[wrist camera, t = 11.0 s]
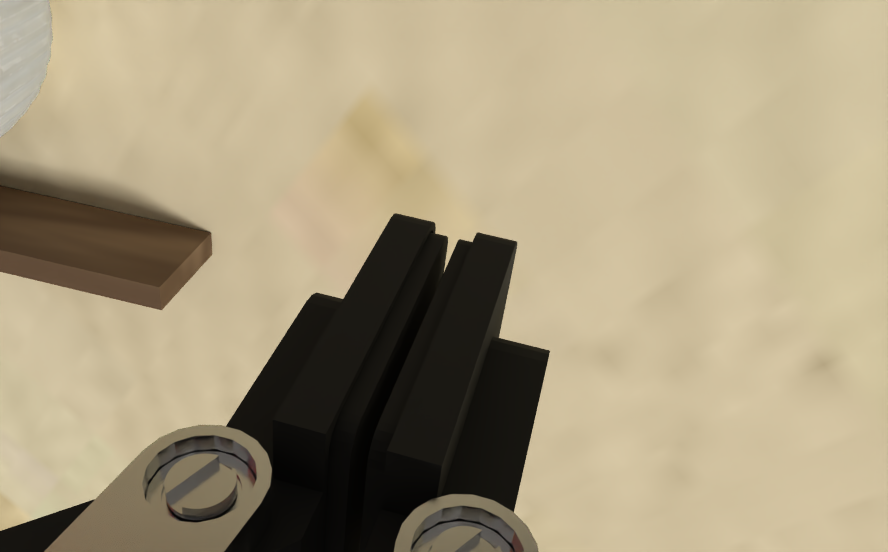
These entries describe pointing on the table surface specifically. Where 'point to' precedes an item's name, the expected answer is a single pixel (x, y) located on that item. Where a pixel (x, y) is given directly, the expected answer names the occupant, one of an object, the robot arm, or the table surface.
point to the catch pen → (97, 249)
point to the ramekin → (22, 56)
